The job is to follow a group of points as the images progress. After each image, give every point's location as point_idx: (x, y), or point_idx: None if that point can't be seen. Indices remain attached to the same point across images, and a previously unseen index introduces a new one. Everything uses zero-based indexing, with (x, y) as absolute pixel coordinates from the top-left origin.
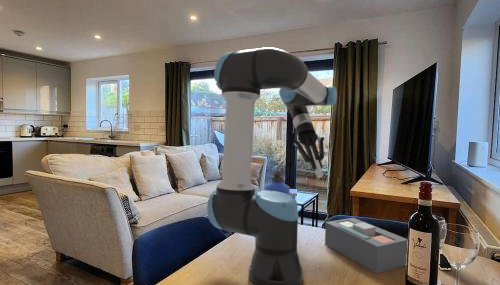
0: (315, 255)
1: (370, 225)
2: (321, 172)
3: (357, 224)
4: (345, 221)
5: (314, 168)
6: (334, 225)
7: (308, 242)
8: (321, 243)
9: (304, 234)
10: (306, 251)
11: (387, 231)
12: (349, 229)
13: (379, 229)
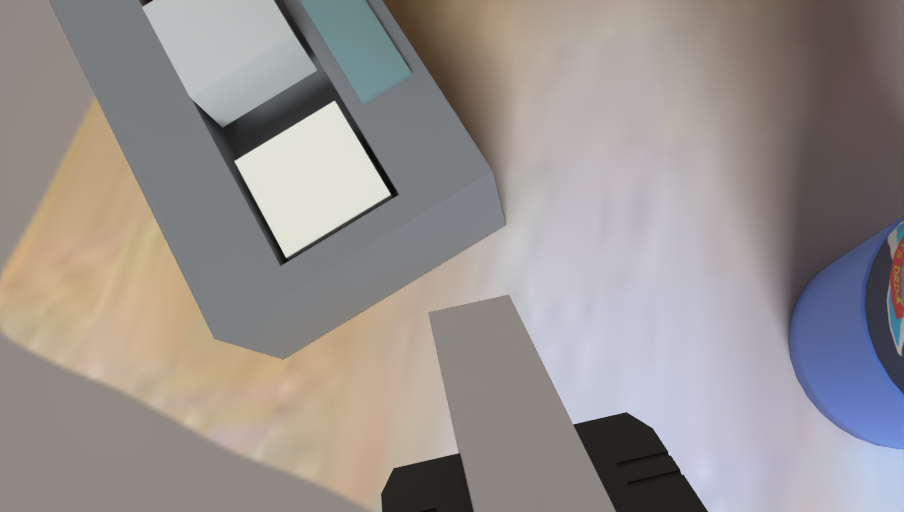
0: (590, 42)
1: (167, 31)
2: (453, 334)
3: (259, 34)
4: (310, 244)
5: (615, 422)
6: (431, 100)
7: (624, 237)
8: (529, 233)
9: (649, 398)
10: (645, 87)
11: (75, 47)
12: (337, 14)
13: (113, 75)
